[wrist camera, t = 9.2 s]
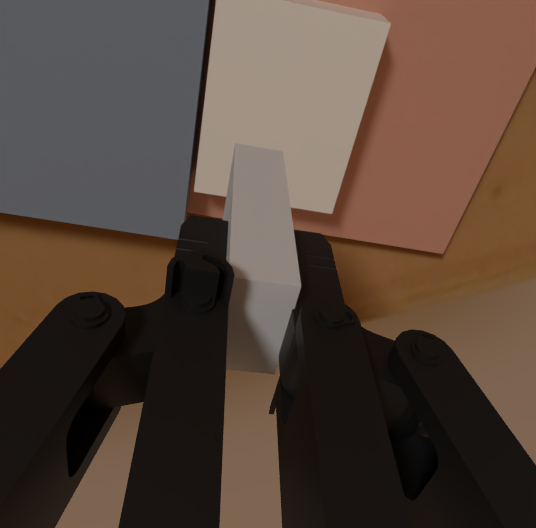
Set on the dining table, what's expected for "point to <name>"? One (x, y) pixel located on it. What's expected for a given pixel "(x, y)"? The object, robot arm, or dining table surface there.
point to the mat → (421, 120)
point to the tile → (288, 91)
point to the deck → (101, 110)
